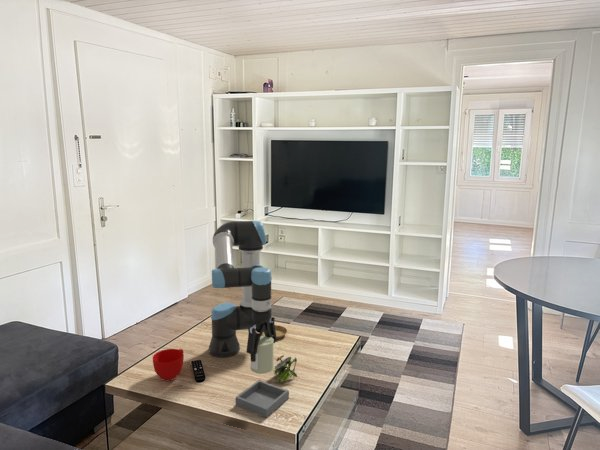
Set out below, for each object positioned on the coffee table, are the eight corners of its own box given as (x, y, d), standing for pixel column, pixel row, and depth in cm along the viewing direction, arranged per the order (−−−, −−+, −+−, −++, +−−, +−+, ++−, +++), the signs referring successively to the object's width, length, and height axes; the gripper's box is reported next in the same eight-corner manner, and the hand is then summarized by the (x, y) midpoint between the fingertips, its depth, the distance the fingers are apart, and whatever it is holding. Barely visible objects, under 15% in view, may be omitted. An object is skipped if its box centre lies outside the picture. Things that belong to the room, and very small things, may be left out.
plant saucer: (287, 329, 240) (287, 325, 240) (286, 341, 226) (286, 336, 226) (261, 329, 240) (261, 324, 240) (258, 341, 226) (258, 336, 226)
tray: (235, 405, 170) (235, 397, 169) (259, 387, 182) (259, 379, 182) (266, 418, 162) (266, 409, 161) (288, 398, 174) (288, 390, 174)
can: (270, 375, 164) (270, 345, 162) (247, 372, 166) (246, 343, 164) (276, 363, 173) (276, 335, 171) (254, 360, 175) (254, 333, 173)
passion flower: (280, 385, 194) (283, 357, 199) (301, 386, 189) (304, 358, 194) (267, 381, 185) (271, 352, 190) (289, 383, 180) (293, 353, 186)
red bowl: (195, 367, 198) (194, 347, 196) (172, 387, 182) (171, 365, 180) (171, 363, 202) (170, 343, 200) (147, 381, 186) (146, 359, 185)
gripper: (251, 319, 154) (252, 378, 158) (285, 301, 172) (285, 354, 176) (235, 315, 158) (236, 372, 162) (270, 298, 176) (270, 349, 180)
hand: (262, 363), depth 169 cm, fingers closed on can, 9 cm apart
